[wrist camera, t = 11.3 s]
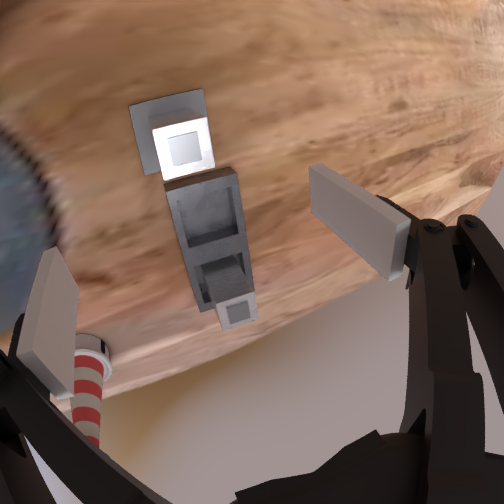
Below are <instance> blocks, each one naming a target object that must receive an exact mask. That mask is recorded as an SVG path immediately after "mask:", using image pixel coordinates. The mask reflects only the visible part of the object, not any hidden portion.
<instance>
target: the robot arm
mask: <svg viewBox="0 0 504 504" xmlns="http://www.w3.org/2000/svg"><path fill="white" fill-rule="evenodd" d="M309 179H310V196H311V213H312V214H313V215H315V216H316V217H317V218H318V219H319V220H320V221H322V222H323V223H324V224H325V225H326V226H327V227H328V228H330V229H331V230H332V231H333V232H334V233H335V234H336V235H338V236H339V237H340V238H341V239H342V240H343V241H344V242H345V243H347V244H348V245H349V246H350V247H351V248H352V249H353V250H354V251H355V252H357V253H358V254H359V255H360V256H361V257H362V258H363V259H364V260H365V261H366V262H368V263H369V264H370V265H371V266H372V267H373V268H374V269H375V270H376V271H377V272H378V273H379V274H380V275H382V276H383V277H384V278H385V279H386V280H387V281H388V282H389V281H391V280H393V279H396V278H398V277H400V276H402V271H403V266H404V264H405V265H406V266H407V267H409V268H410V270H409V275H408V280H407V284H406V289H408V287H409V358H408V376H407V377H408V378H407V390H406V401H405V411H404V416H403V420H402V423H401V426H400V430H399V433H390V434H384V435H379V433H378V432H377V430H374V431H372V432H370V433H369V434H367V435H365V436H364V437H362V438H360V439H358V440H356V441H354V442H353V443H351V444H349V445H347V446H345V447H344V448H342V449H341V450H340V451H339V452H338V453H337V454H335V455H334V456H333V457H332V458H331V459H329V460H328V461H327V462H326V463H325V464H323V465H322V466H321V467H320V468H318V469H317V470H316V471H314V472H312V473H308V474H303V475H297V476H292V477H286V478H280V479H273V480H269V481H267V482H264V483H261V484H259V485H256V486H253V487H250V488H247V489H244V490H241V491H238V492H235V495H236V497H237V499H236V500H235V501H233V502H232V503H230V504H504V456H503V455H498V454H493V453H488V452H485V408H484V389H483V381H482V376H481V375H480V373H475V372H474V371H473V366H472V355H471V346H470V338H469V331H468V323H467V317H466V312H467V315H468V317H469V319H470V322H471V324H472V326H473V329H474V331H475V334H476V336H477V339H478V341H479V344H480V346H481V349H482V352H483V354H484V357H485V360H486V362H487V365H488V368H489V371H490V373H491V377H492V380H493V383H494V386H495V389H496V392H497V395H498V399H499V402H500V405H501V408H502V411H503V414H504V249H503V248H502V246H501V245H500V244H499V242H498V241H497V239H496V238H495V237H494V236H493V234H492V233H491V232H490V230H489V229H488V228H487V226H486V225H485V224H484V223H483V222H482V221H481V220H480V219H479V218H477V217H476V216H474V215H473V216H472V215H470V214H469V215H467V214H464V215H460V216H459V217H458V221H457V225H456V226H449V227H446V226H445V225H444V224H443V223H442V222H440V221H438V220H435V219H422V220H420V219H418V218H417V217H415V216H414V215H412V214H411V213H409V212H408V211H406V210H405V209H403V208H401V207H400V206H399V205H397V204H395V203H394V202H392V201H391V200H389V199H388V198H385V197H382V196H379V195H376V196H375V195H373V194H372V193H370V192H368V191H367V190H365V189H364V188H362V187H360V186H359V185H357V184H355V183H354V182H352V181H350V180H349V179H347V178H345V177H344V176H342V175H340V174H339V173H337V172H335V171H333V170H332V169H330V168H328V167H327V166H325V165H323V164H317V165H313V166H309ZM474 262H475V265H474ZM79 291H80V289H79V288H78V286H77V284H76V282H75V281H74V279H73V277H72V275H71V273H70V271H69V269H68V268H67V266H66V264H65V262H64V260H63V258H62V256H61V254H60V252H59V250H58V248H57V246H56V247H54V248H51V249H49V250H46V251H44V253H43V255H42V258H41V261H40V264H39V267H38V271H37V274H36V277H35V280H34V283H33V287H32V290H31V294H30V297H29V301H28V305H27V308H26V312H25V313H23V314H21V315H20V317H19V318H18V320H17V322H16V323H15V327H14V331H13V335H12V339H11V341H12V342H11V344H10V348H9V353H8V357H7V356H6V355H5V353H4V352H3V351H2V350H1V349H0V504H56V502H55V500H54V498H53V496H52V494H51V492H50V491H49V489H48V487H47V485H46V483H45V481H44V479H43V477H42V475H41V473H40V471H39V469H38V467H37V465H36V462H35V460H34V458H33V456H32V454H31V451H30V449H29V447H28V444H27V442H26V439H25V437H26V438H27V439H28V441H29V442H30V444H31V445H32V446H33V447H34V449H35V450H36V451H37V453H38V454H39V455H40V456H41V458H42V459H43V460H44V461H45V462H46V464H47V465H48V466H49V467H50V468H51V470H52V471H53V472H54V473H55V474H56V475H57V476H58V477H59V479H60V480H61V481H62V482H63V483H64V484H65V485H66V486H67V487H68V488H69V489H70V490H71V492H73V494H74V495H75V496H76V497H77V498H78V499H79V500H80V501H81V502H82V503H84V504H172V503H170V502H169V501H167V500H166V499H164V498H163V497H161V496H160V495H158V494H157V493H155V492H154V491H153V490H151V489H150V488H148V487H147V486H146V485H144V484H143V483H141V482H140V481H139V480H138V479H136V478H135V477H133V476H132V475H131V474H130V473H128V472H127V471H126V470H124V469H123V468H122V467H121V466H119V465H118V464H117V463H115V461H113V460H112V459H111V458H110V457H109V456H107V455H106V454H105V453H104V452H103V451H102V450H100V449H99V448H98V447H97V446H96V445H95V444H94V443H93V442H91V441H90V440H89V439H88V438H87V437H86V436H85V435H84V434H83V433H82V432H81V431H80V430H79V429H78V428H77V427H76V426H74V425H73V424H72V423H71V422H70V421H69V420H68V419H67V418H66V417H65V416H64V415H63V414H62V412H61V411H60V410H59V409H58V408H57V407H56V406H55V405H54V404H53V403H52V402H51V401H50V392H51V393H52V394H53V395H54V396H55V397H56V398H57V399H58V400H61V399H65V398H69V397H73V396H74V358H75V337H76V322H77V310H78V300H79ZM24 436H25V437H24Z"/></svg>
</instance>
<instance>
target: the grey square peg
mask: <svg viewBox="0 0 504 504" xmlns="http://www.w3.org/2000/svg"><path fill="white" fill-rule="evenodd" d="M148 120H149V124H150V129H151V133H152V138H153V142H154V147H155V151H156V156H157V159H158V162H159V166H160V169H161V172H162V176H163V179H164V181H165V180H168V179H172V178H176V177H179V176H183V175H187V174H190V173H194V172H198V171H202V170H206V169H210V168H214V167H215V164H214V159H213V153H212V147H211V141H210V135H209V129H208V123H207V117H205V116H203V115H202V114H200V113H198V112H196V111H194V110H192V109H191V108H185V109H181V110H176V111H172V112H168V113H164V114H160V115H156V116H152V117H148Z"/></svg>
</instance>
